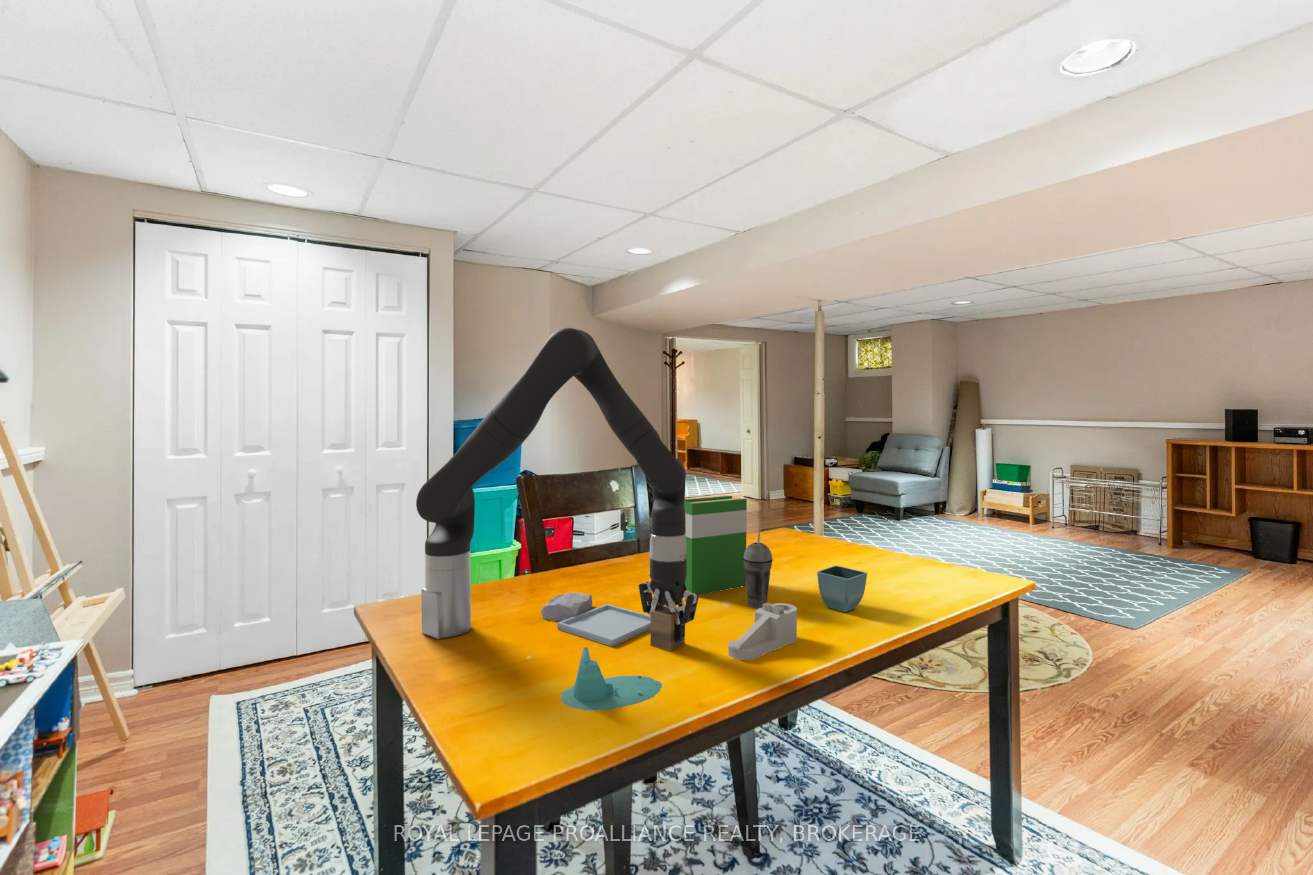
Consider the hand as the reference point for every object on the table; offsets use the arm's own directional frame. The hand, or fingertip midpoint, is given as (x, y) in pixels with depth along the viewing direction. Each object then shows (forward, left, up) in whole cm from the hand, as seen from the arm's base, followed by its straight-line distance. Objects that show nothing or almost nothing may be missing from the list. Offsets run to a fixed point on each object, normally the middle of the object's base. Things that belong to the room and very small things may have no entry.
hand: (667, 637), depth 121 cm
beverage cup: (+33, -3, -2) cm, 33 cm away
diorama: (-22, -5, -2) cm, 23 cm away
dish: (0, +16, -1) cm, 16 cm away
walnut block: (0, 0, -1) cm, 1 cm away
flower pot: (+44, -20, -2) cm, 48 cm away
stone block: (+1, +31, -2) cm, 31 cm away
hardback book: (+39, +14, -2) cm, 42 cm away
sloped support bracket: (+11, -16, -2) cm, 20 cm away
